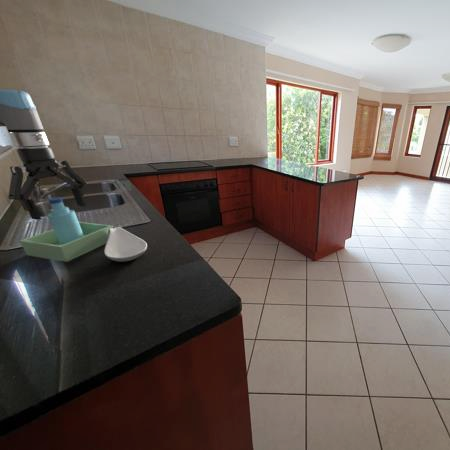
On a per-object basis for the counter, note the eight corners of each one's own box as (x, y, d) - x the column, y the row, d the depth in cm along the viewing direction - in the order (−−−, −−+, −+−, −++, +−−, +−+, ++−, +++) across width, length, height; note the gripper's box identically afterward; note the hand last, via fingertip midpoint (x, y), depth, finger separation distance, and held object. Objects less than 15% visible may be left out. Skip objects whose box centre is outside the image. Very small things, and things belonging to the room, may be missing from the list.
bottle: (57, 249, 84) (35, 200, 77) (77, 241, 90) (58, 195, 83) (72, 251, 83) (51, 202, 76) (91, 243, 89) (73, 196, 82)
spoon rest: (154, 257, 82) (149, 238, 79) (113, 271, 73) (106, 251, 71) (132, 235, 96) (128, 219, 93) (96, 245, 88) (89, 228, 85)
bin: (27, 256, 81) (19, 240, 78) (81, 235, 96) (76, 221, 94) (67, 263, 77) (60, 246, 75) (117, 239, 93) (112, 225, 90)
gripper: (-16, 151, 61) (22, 227, 69) (85, 144, 83) (104, 201, 92) (-35, 151, 62) (4, 224, 71) (68, 144, 85) (89, 200, 93)
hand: (61, 212), depth 81 cm, fingers open, 13 cm apart
